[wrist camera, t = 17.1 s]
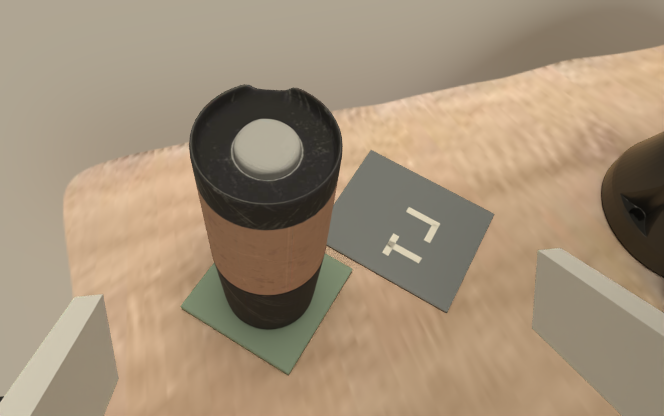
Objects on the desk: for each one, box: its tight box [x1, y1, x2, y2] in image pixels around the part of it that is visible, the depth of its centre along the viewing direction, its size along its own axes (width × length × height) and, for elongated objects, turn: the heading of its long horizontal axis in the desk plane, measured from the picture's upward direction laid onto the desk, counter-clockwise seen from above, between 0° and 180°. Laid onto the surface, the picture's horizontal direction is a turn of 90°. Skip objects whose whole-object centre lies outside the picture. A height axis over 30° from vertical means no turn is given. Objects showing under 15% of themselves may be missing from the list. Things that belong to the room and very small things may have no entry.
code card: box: [326, 150, 494, 313], centre depth 48 cm, size 13×11×1 cm
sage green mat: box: [181, 254, 352, 375], centre depth 43 cm, size 10×10×1 cm
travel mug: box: [189, 85, 342, 330], centre depth 34 cm, size 8×8×20 cm
